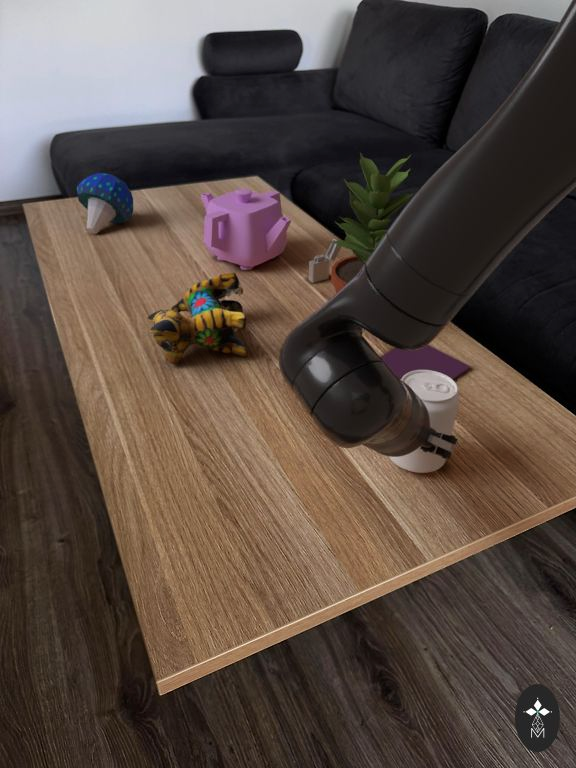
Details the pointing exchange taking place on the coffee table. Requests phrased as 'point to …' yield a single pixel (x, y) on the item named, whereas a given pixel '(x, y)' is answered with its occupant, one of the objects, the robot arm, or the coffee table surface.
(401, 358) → the cloth
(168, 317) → the striped cat figurine
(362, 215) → the potted plant
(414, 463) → the beverage can
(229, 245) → the teapot
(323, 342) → the robot arm
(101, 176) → the mushroom
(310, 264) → the lighter
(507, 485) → the coffee table surface
